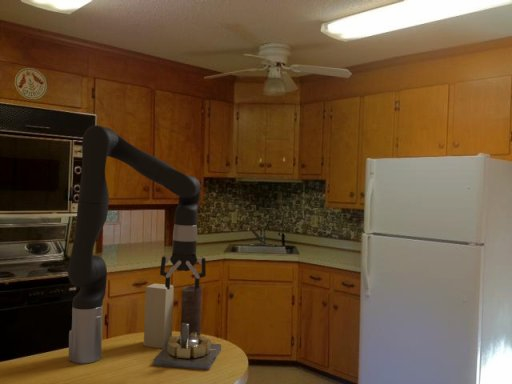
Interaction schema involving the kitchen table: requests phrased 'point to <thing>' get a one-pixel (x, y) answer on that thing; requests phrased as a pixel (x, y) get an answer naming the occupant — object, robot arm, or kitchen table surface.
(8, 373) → the kitchen table surface
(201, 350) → the tan block ring
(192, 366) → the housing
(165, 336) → the light grey tall block
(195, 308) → the candle
